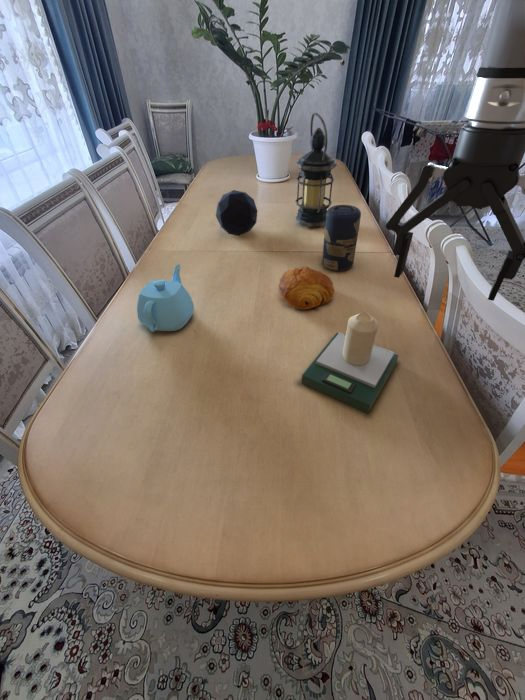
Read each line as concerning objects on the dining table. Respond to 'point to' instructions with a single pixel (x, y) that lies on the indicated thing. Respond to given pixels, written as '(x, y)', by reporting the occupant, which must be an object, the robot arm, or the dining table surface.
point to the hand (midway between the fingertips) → (442, 284)
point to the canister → (340, 236)
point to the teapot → (165, 304)
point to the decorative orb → (236, 212)
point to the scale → (349, 374)
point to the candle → (359, 339)
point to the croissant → (305, 287)
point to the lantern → (315, 179)
